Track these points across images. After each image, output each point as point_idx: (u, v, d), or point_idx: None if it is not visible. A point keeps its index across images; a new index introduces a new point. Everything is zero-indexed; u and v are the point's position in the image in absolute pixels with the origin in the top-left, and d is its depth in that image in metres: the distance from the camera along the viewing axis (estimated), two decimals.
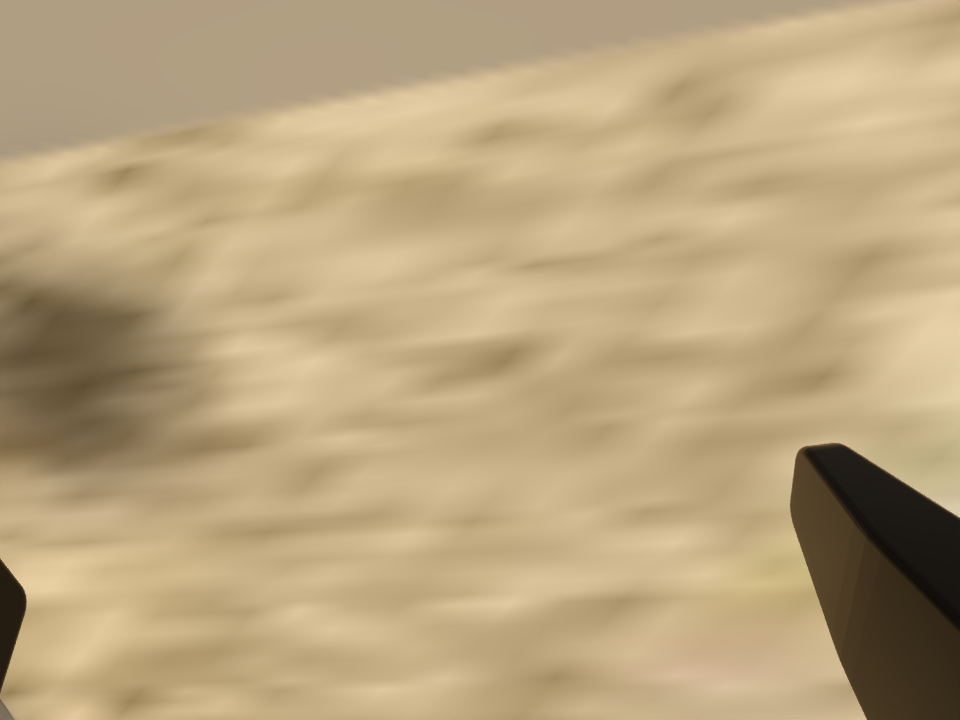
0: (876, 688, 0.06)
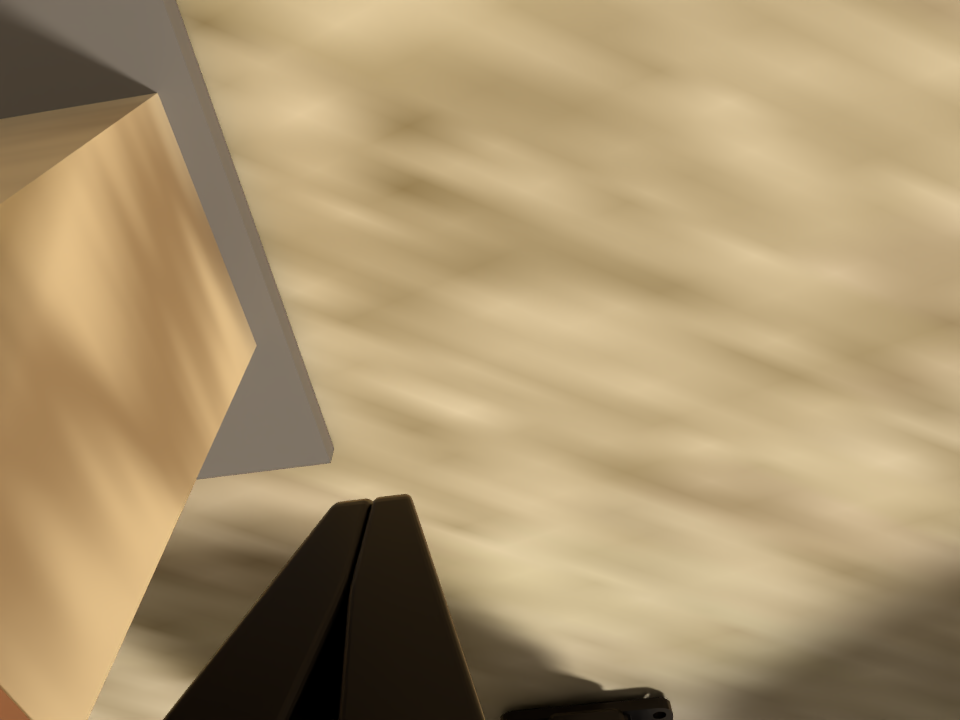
0: None
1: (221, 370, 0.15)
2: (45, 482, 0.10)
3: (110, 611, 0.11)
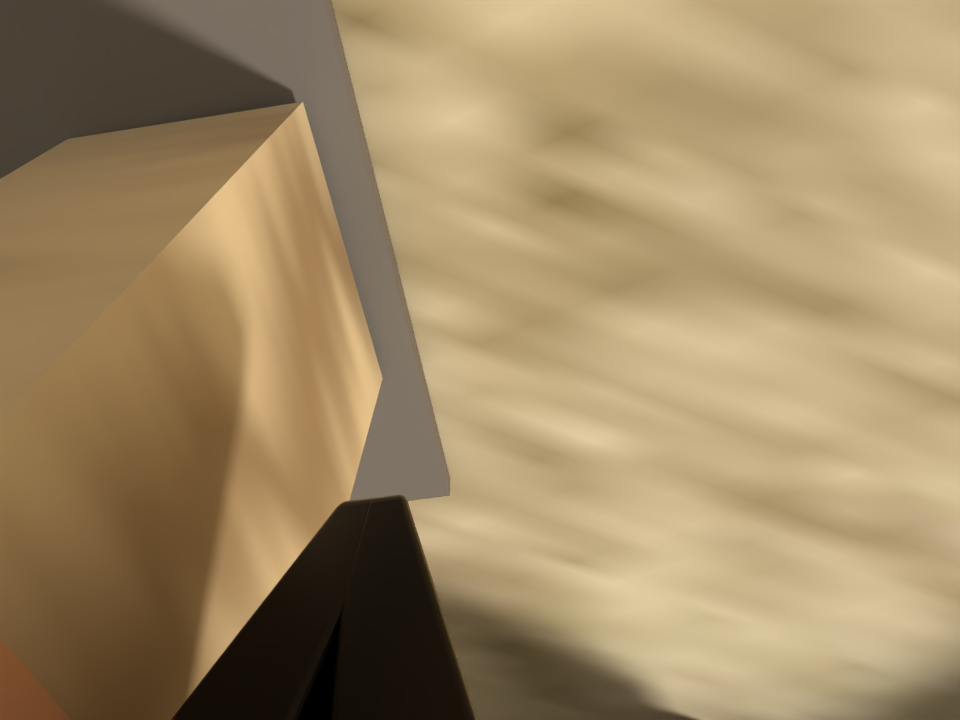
0: None
1: (356, 410, 0.14)
2: (213, 572, 0.08)
3: None
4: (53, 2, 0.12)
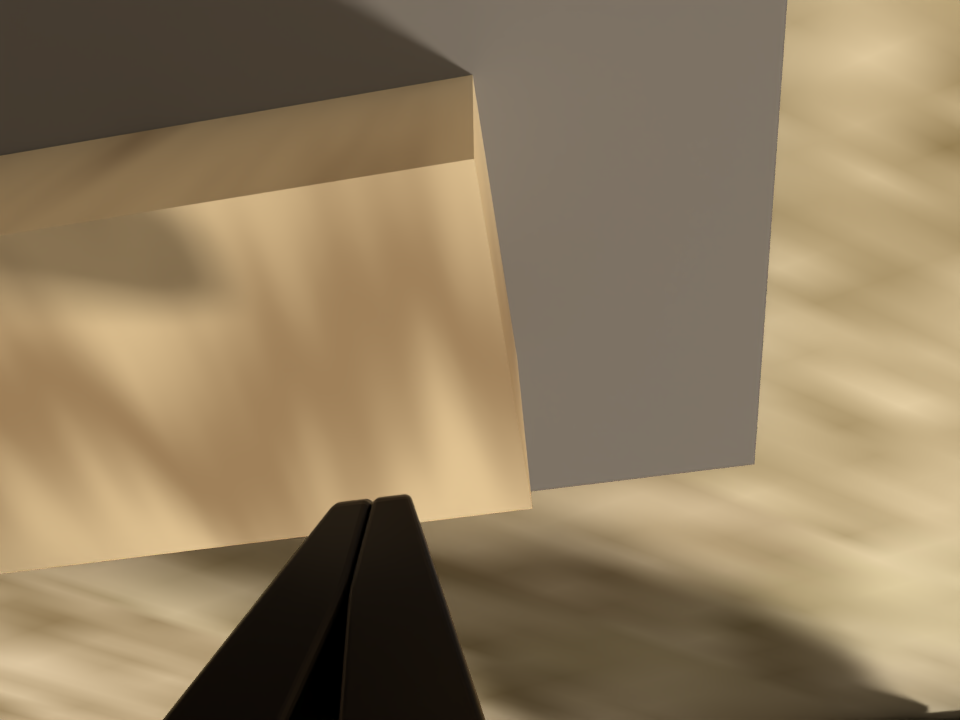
0: None
1: (400, 492, 0.12)
2: (15, 438, 0.11)
3: (66, 542, 0.12)
4: None
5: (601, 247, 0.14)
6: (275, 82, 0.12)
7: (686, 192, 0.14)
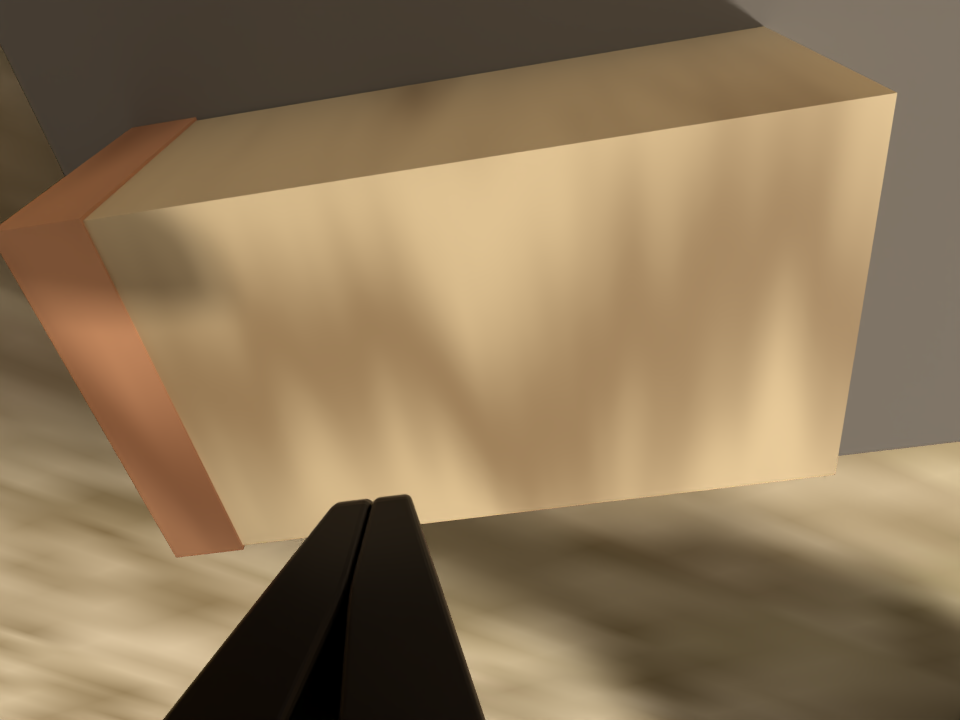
0: None
1: (704, 456, 0.11)
2: (325, 396, 0.11)
3: None
4: None
5: None
6: (558, 33, 0.12)
7: (957, 153, 0.13)
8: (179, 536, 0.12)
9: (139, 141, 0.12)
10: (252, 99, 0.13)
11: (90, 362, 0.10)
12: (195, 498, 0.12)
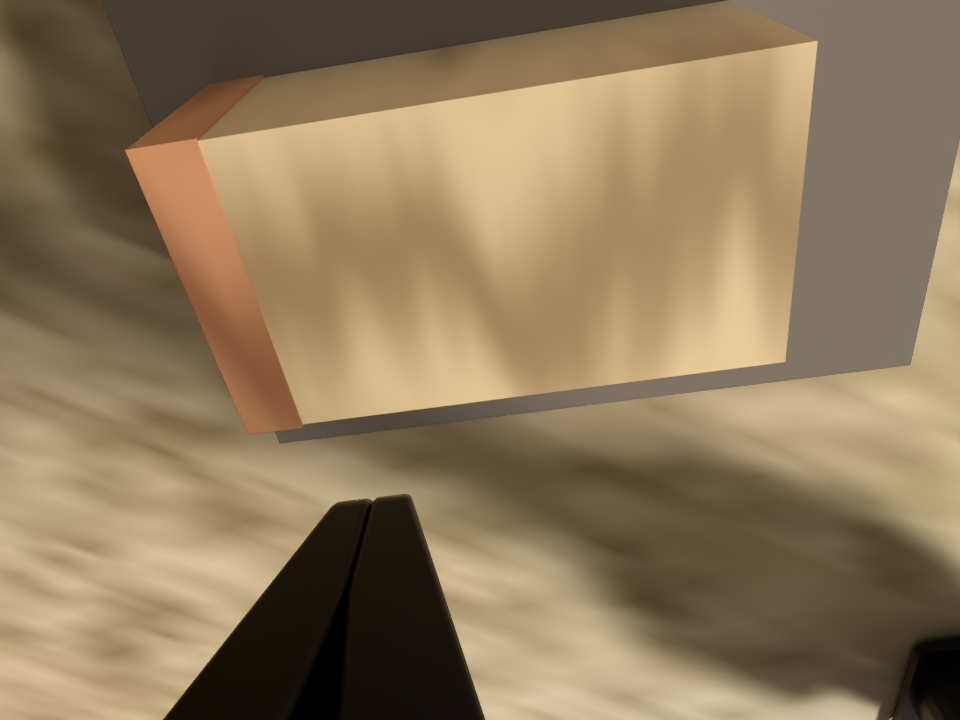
0: None
1: (679, 345, 0.14)
2: (376, 290, 0.13)
3: (386, 391, 0.15)
4: None
5: (811, 157, 0.17)
6: (562, 5, 0.15)
7: (892, 107, 0.16)
8: (251, 415, 0.15)
9: (221, 92, 0.15)
10: (310, 59, 0.15)
11: (193, 259, 0.13)
12: (267, 380, 0.14)
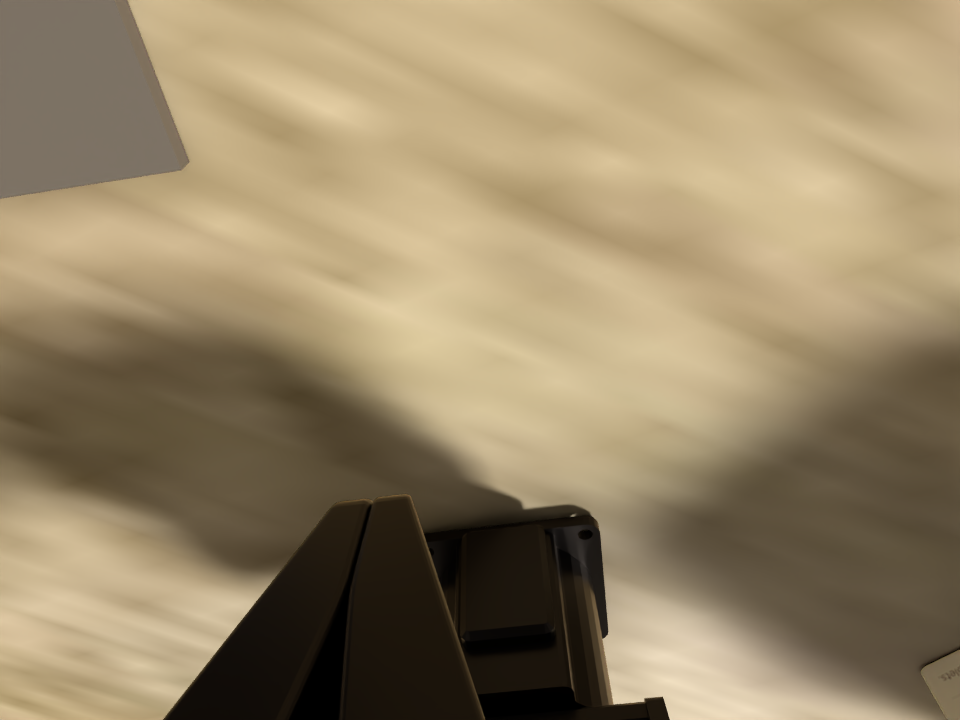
0: None
1: None
2: None
3: None
4: None
5: None
6: None
7: None
8: None
9: None
10: None
11: None
12: None
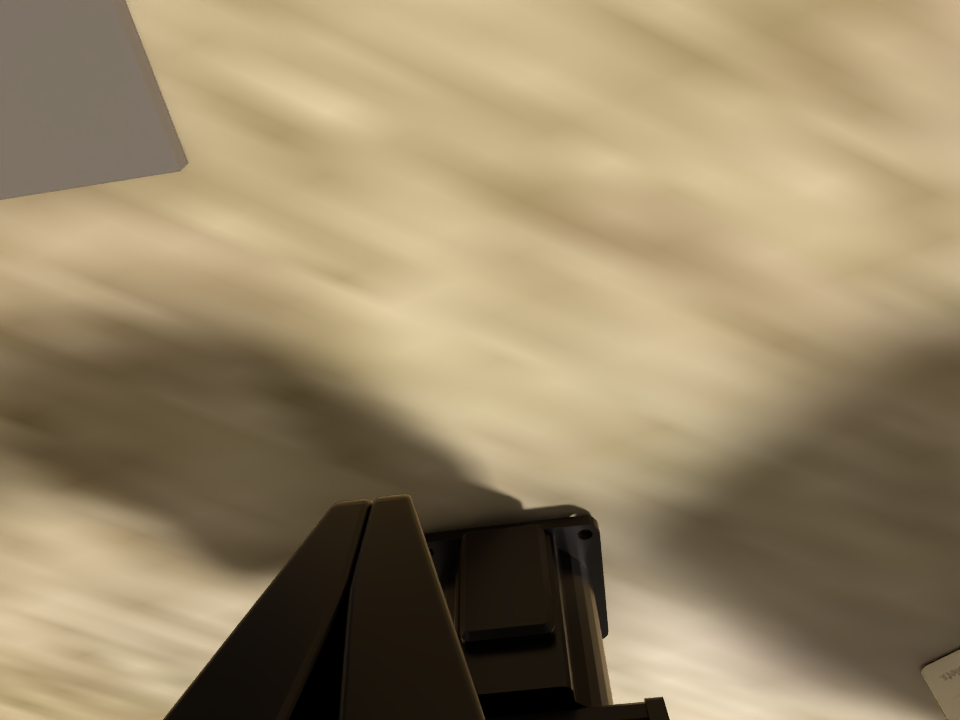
0: None
1: None
2: None
3: None
4: None
5: None
6: None
7: None
8: None
9: None
10: None
11: None
12: None
